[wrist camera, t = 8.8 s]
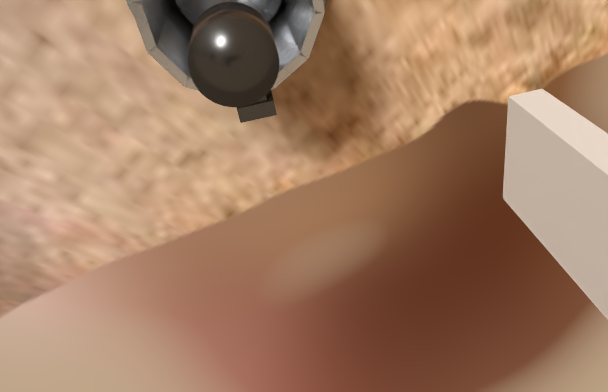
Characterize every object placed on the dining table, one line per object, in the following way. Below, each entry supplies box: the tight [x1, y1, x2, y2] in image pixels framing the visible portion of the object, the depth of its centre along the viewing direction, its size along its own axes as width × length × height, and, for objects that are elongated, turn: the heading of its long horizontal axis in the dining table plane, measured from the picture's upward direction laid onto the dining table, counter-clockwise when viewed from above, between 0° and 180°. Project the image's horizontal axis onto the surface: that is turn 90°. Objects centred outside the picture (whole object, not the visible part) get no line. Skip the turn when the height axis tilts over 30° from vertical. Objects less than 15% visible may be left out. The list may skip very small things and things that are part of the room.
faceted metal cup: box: [130, 0, 325, 123], centre depth 34 cm, size 11×13×12 cm
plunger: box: [175, 0, 282, 107], centre depth 28 cm, size 8×8×19 cm
